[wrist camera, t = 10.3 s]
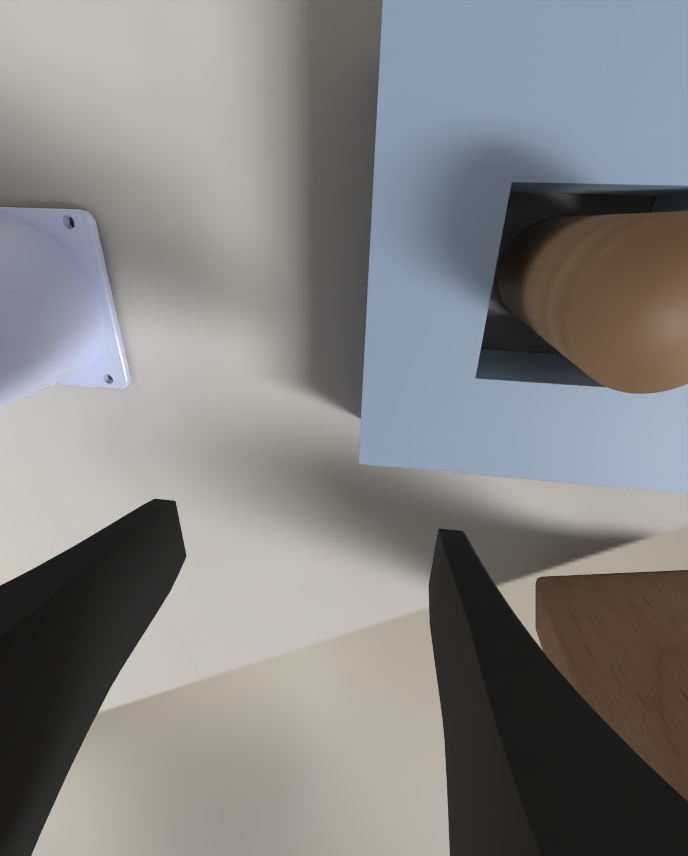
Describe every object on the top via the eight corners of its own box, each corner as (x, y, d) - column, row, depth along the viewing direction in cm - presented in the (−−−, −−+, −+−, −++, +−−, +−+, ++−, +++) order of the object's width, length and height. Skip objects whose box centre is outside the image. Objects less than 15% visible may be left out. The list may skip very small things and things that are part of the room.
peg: (493, 325, 17) (556, 394, 10) (503, 221, 16) (587, 218, 9) (593, 321, 17) (733, 392, 10) (615, 212, 15) (807, 202, 8)
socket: (366, 421, 20) (358, 464, 17) (387, 53, 14) (382, -5, 10) (666, 446, 19) (728, 497, 15) (844, 48, 12) (1021, -21, 9)
